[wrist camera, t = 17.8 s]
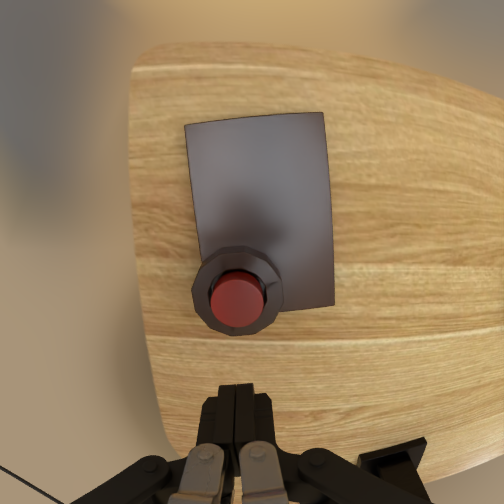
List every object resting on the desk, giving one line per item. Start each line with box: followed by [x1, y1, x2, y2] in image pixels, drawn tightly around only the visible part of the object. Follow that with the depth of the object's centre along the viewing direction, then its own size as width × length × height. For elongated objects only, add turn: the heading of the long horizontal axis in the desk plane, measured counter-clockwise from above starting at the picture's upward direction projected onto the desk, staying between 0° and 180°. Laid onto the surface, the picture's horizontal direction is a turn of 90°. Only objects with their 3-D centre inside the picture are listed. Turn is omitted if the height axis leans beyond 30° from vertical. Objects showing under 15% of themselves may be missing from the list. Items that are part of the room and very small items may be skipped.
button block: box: [184, 112, 335, 336], centre depth 23 cm, size 11×16×2 cm
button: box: [211, 271, 264, 327], centre depth 23 cm, size 4×4×2 cm
